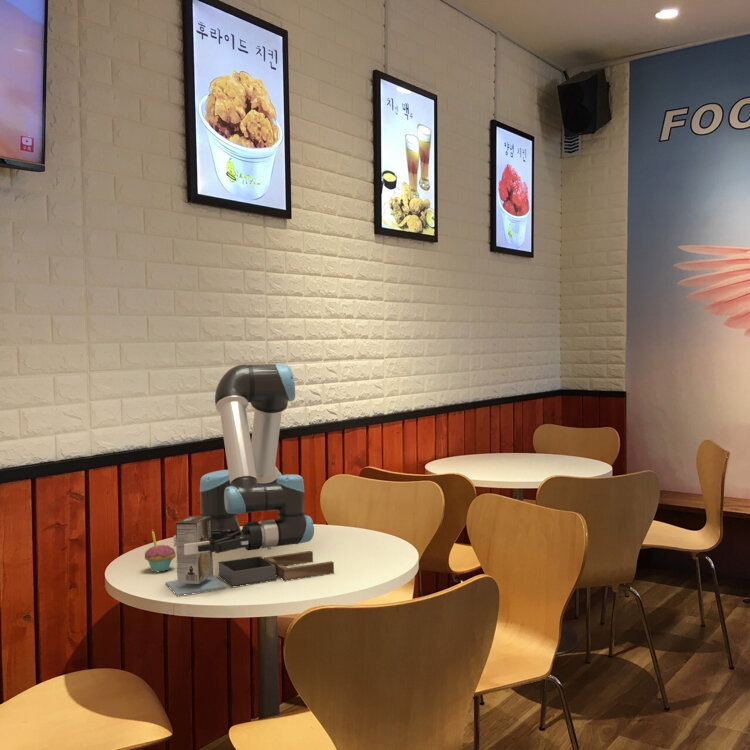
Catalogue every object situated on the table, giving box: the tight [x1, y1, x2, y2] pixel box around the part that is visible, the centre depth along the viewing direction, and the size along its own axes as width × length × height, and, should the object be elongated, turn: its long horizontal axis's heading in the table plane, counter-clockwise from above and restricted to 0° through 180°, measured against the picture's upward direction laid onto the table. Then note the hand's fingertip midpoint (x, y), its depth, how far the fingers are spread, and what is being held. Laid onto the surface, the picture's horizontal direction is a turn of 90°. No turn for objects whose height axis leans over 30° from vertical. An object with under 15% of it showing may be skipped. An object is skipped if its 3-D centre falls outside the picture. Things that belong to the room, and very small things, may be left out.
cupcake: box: [144, 529, 177, 572], centre depth 227 cm, size 9×8×12 cm
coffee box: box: [175, 515, 214, 584], centre depth 210 cm, size 9×6×16 cm
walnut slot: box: [263, 550, 335, 581], centre depth 224 cm, size 16×15×3 cm
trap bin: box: [217, 556, 277, 588], centre depth 217 cm, size 12×12×4 cm
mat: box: [165, 574, 228, 597], centre depth 210 cm, size 13×13×1 cm
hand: (179, 545), depth 208 cm, fingers closed on coffee box, 10 cm apart
